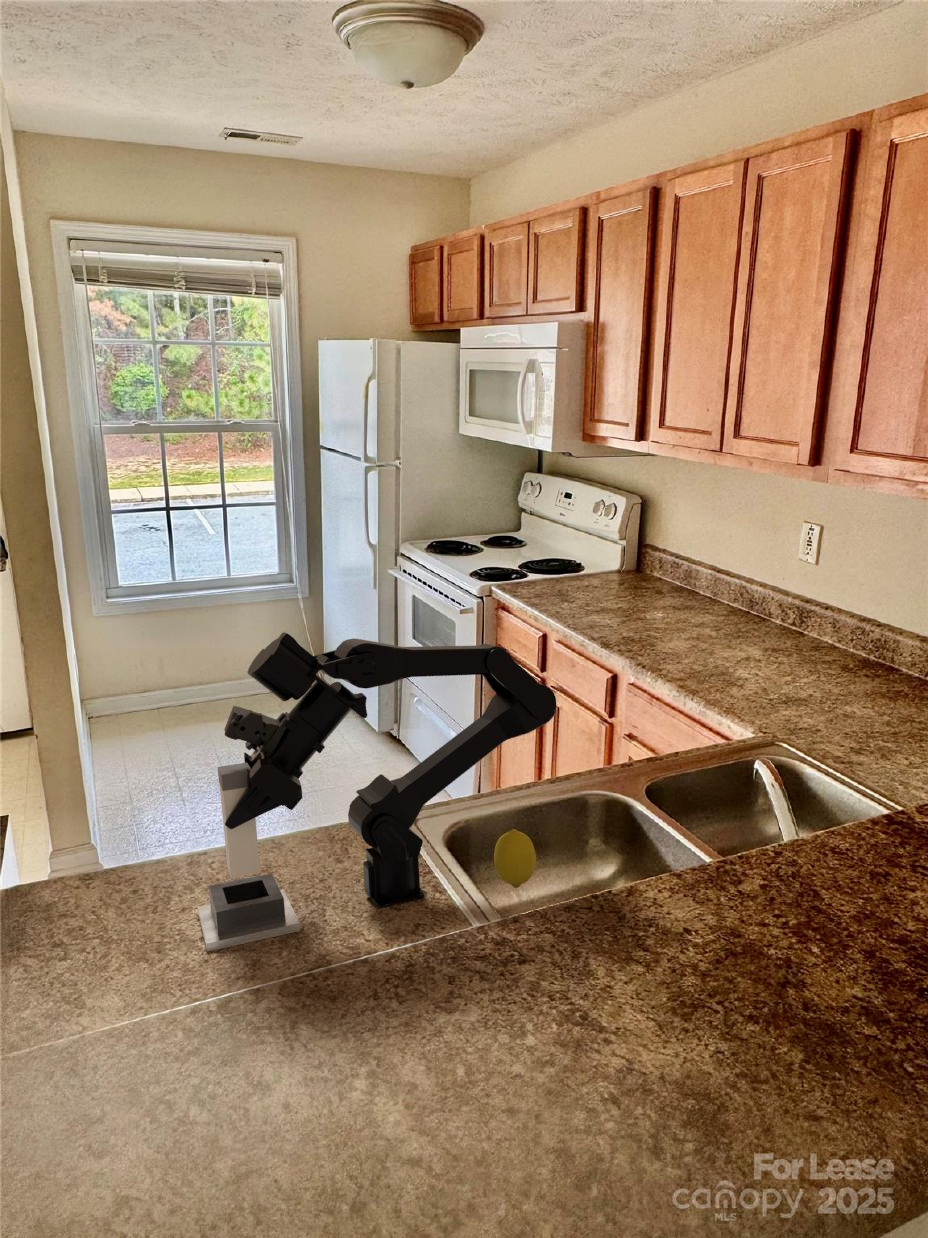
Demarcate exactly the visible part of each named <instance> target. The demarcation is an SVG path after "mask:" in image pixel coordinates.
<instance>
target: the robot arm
mask: <svg viewBox="0 0 928 1238" xmlns="http://www.w3.org/2000/svg"><path fill="white" fill-rule="evenodd" d="M318 672H321V673H323V674H324V675H326V676H328V677H330V678H332V679H335V680H343V681H345V682H347V683H348V684H350V685H352V686H354V687H356V688H359V689H366V690H367V689H372V688H376V687H381V686H385V685H389V684H390V685H391V684H392V683H396V682H399V681H401V680H404V679H409V678H415V677H416V678H417V677H418V678H419V677H421V678H423V677H444V676H445V677H449V676H476V675H482V677H483V678H484V680H485V682H486V683H487V685H488V686H489V688H490V689H491V690H492V691H493V692H494V693H495V694H494V695H493V696H492V697H491V699H490V701H489V703H488V704H487V706H486V709H485V710H484V713H483V714H482V715H481V716H480V717H479V718H477V719H475V720H474V721H473V722H472V723H471V724H469V725H467V727H465V728H464V729H463V730H462V731H460V732H459V733H458V734H456V735H455V736H454V737H452V738H451V739H450V740H448V741H447V742H446V743H445V744H443V745H442V746H440V747H439V748H438V749H436V750H435V751H434V752H433V753H431V754H430V755H429V756H428V757H426V758H425V759H423V761H421V762H420V763H419V764H417V765H415V767H413V768H412V769H411V770H408V772H407V773H406V774H404V775H403V776H401V777H398V778H395V779H392V780H390V779H389V778H388V777H386V776H385V775H384V774H379V775H378V776H376V777H375V778H374V779H373V780H372V781H371V782H370V783H369V784H368V785H367V786H365V787H364V788H361V789H358V790H356V792H355V793H356V794H357V796H356V797H355V798H354V799H353V800H352V801H351V802H350V804H349V809H348V814H347V816H348V817H347V818H348V822H349V825H350V827H351V828H352V829H353V830H354V832H355V833H357V835H358V836H359V837H360V838H361V839H362V840H363V841H364V842H365V843H366V845H368V846H369V848H366V849H365V852H366V853H365V854H366V860H364V861H363V862H362V867H363V868H362V869H363V885H364V892H365V893H366V894H367V896H368V897H369V898H370V899H371V900H372V901H373V903H374V904H375V906H377V907H379V908H381V907H386V906H390V905H395V904H399V903H403V902H408V901H413V900H417V899H422V898H425V896H426V894H425V891H424V890H423V889H422V888H421V880H420V877H421V876H420V864H419V863H420V862H419V855H421V851H422V847H423V842H424V841H423V838H421V837H420V836H419V835H418V834H417V833H416V832H414V831H413V830H412V829H411V828H412V827H413V825H414V824H415V822H416V820H417V818H418V816H419V815H420V813H421V810H422V809H423V808H424V807H425V806H424V805H426V804H427V803H428V802H429V801H431V799H433V798H434V797H435V796H437V795H438V794H439V793H441V792H442V791H443V790H444V789H446V788H447V787H448V786H450V785H451V784H453V782H455V781H456V780H457V779H459V778H460V777H461V776H462V775H464V774H465V773H467V772H468V771H469V770H470V769H471V768H473V767H474V766H475V765H476V764H477V763H479V762H480V761H482V759H484V758H485V757H486V756H489V754H490V753H491V752H493V751H494V750H496V748H498V747H499V746H500V745H502V744H503V743H504V742H506V741H508V740H511V739H513V738H518V737H520V736H525V735H527V734H530V733H532V732H533V731H536V730H537V729H539V728H540V727H542V726H544V725H547V724H548V723H550V721H551V720H552V719H553V718H554V716H555V715H556V707H557V697H556V695H555V693H554V691H553V690H552V688H550V687H549V686H547V685H545V684H543V683H539V682H538V680H536V678H535V677H534V676H533V675H531V674H530V673H529V672H528V671H527V670H526V669H524V668H523V666H521V665H520V664H519V663H518V662H516V661H515V660H514V659H513V657H512V656H511V655H510V654H509V653H508V651H506V649H504V648H503V647H502V646H498V645H493V644H490V643H481V644H478V645H438V646H437V645H436V646H400V645H395V644H394V645H393V644H390V643H389V644H388V643H384V642H380V641H379V642H378V641H372V640H366V639H359V638H349V639H345V640H343V641H342V642H341V643H340V644H338V646H337V647H336V648H335V650H330V651H327V652H323V653H319V654H314V655H313V654H311V653H310V651H307V650H306V649H305V648H304V647H302V646H301V644H300V643H298V641H297V640H296V639H295V638H294V637H293V636H292V635H291V634H290V633H288V632H286V631H285V632H284V631H283V632H282V633H281V634H280V635H279V636H278V637H277V638H276V639H274V640H272V641H271V642H270V643H269V644H268V645H267V646H266V647H265V648H262V649H261V650H260V651H259V652H258V654H257V655H256V656H255V657H254V659H253V661H252V662H251V663H250V665H249V667H248V670H247V675H249V676H250V677H251V678H252V679H254V680H255V681H256V682H258V683H259V684H261V686H263V687H264V688H266V689H267V690H268V691H269V692H271V693H272V694H273V695H274V696H275V697H277V698H278V699H280V700H281V701H282V702H287V701H289V700H290V699H293V700H294V701H298V702H297V703H296V704H295V706H294V707H293V708H292V709H291V710H290V711H289V712H288V711H285V712H281V714H280V715H279V716H278V717H277V718H273V717H271V716H268V715H265V714H262V713H261V712H256V711H253V710H252V709H247V708H244V707H241V706H237V705H233V706H232V709H231V711H230V713H229V715H228V719H227V722H226V724H225V727H224V729H223V730H224V736H225V737H227V738H228V739H232V740H235V741H237V740H239V741H243V742H245V748H246V749H247V750H248V751H251V750H253V752H252V753H251V754H249V753H247V752H243V759H244V763H248V765H249V767H250V768H251V771H249V770H248V769H246V777H247V787H246V789H245V791H244V792H243V794H242V795H241V797H240V799H239V800H238V802H237V804H236V805H235V807H234V808H233V810H232V812H231V813H230V815H229V817H228V818H227V820H226V822H225V826H227V827H228V828H229V829H234V828H236V827H238V826H240V825H242V824H244V823H245V822H247V821H249V820H251V819H253V818H257V817H259V816H262V815H263V814H265V813H268V812H270V811H272V810H274V809H275V810H276V808H279V807H286V809H288V810H291V811H293V810H294V808H295V807H296V806H298V804H299V803H300V801H301V800H302V799H303V788H302V784H301V781H300V779H301V777H302V775H303V774H304V772H303V768H304V767H305V766H306V764H308V762H309V761H310V759H311V758H312V757H313V756H314V755H315V754H316V752H317V753H318V754H321V753H322V752H323V750H324V749H325V747H326V746H325V745H324V743H325V742H326V740H328V738H329V737H330V736H331V735H332V733H333V732H335V730H336V729H337V727H338V726H339V725H340V724H341V723H342V721H343V720H344V719H345V718H346V717H347V715H348V714H349V713H350V712H351V711H353V712H355V713H356V714H357V715H358V716H359V717H361V718H362V719H367V718H368V712H367V700H368V698H367V696H366V695H365V694H364V693H363V692H359V693H354V692H353V691H351V690H350V689H348V688H347V687H346V686H345V685H344V684H343V683H341V682H340V681H334V682H333V683H328V681H326V680H325V679H323V678H322V677H321V676H320V675H319V674H318Z"/></svg>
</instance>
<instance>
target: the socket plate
mask: <svg viewBox="0 0 928 1238" xmlns="http://www.w3.org/2000/svg"><path fill="white" fill-rule="evenodd" d="M208 889H209V890H208V891H209V904H206V905H200V906H197V913H198V919H199V922H200V923H199V924H200V927H201V931H202V935H203V936H202V937H203V941H204V945H205V948H206V952H213V951H217V950H222V949H225V948H229V947H230V948H231V947H234V946H239V945H244V944H248V943H252V942H257V941H261V940H265V939H270V938H274V937H279V936H283V935H287V934H292V933H296V932H300V931H301V923H300V921H299V919H298V917H297V915H296V912H295V910H294V909H293V906H292V904H291V903H290V900H289V898H288V896H287V894H286V892H285V890H284V889H280V888H279V886H278V884H277V881H276V879H275V877H274V875H273V873H267V874H262V875H257V876H251V877H246V878H242V879H238V880H237V879H236V880H231V881H227V882H223V883H222V882H221V883H216V884H211V885H208Z"/></svg>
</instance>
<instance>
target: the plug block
mask: <svg viewBox="0 0 928 1238" xmlns="http://www.w3.org/2000/svg"><path fill="white" fill-rule="evenodd" d="M246 769H248V770H249V771H251V768H250V767H249V765H248V763H245V762H241V763H235V764H229V765H228V764H227V765H222V766H217V773H218V774H217V775H218V783H219V784H218V785H219V792H220V801H221V802H220V803H221V813H222V823H223V824H222V825H223V832H224V845H225V856H226V865H227V866H226V867H227V871H228V873H229V876H230V879H237V878H241V877H247V876H251V875H257V874H261V866H260V856H259V855H260V854H259V853H260V852H259V842H258V830H257V821H256V818H257V817H255V818H253V819H251V820H249V821H247V822H245V823H244V824H242V825H240V826H238V827H236V828H234V829H229V828H228V827H227V826H225V822H226V820H227V818H228V817H229V815H230V813H231V812H232V810H233V808H234V807H235V805H236V804H237V802H238V800H239V799H240V797H241V795H242V794H243V792H244V791H245V789H246V787H247V777H246Z"/></svg>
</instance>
